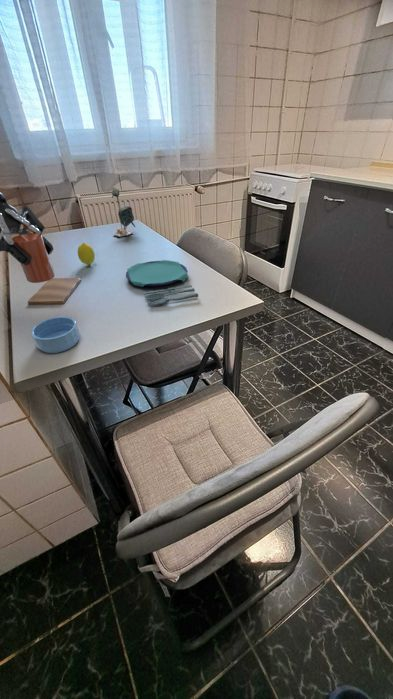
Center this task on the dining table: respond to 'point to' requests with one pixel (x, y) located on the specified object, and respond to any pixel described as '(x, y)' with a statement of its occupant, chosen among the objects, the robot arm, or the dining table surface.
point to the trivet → (55, 291)
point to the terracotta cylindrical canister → (35, 258)
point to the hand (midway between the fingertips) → (40, 256)
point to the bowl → (56, 334)
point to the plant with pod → (123, 216)
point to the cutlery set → (159, 279)
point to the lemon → (86, 254)
